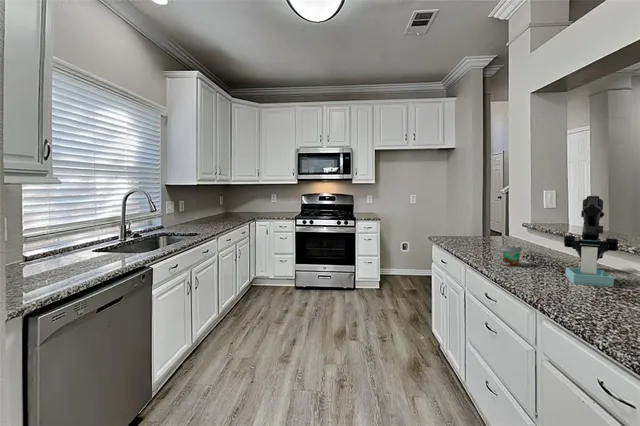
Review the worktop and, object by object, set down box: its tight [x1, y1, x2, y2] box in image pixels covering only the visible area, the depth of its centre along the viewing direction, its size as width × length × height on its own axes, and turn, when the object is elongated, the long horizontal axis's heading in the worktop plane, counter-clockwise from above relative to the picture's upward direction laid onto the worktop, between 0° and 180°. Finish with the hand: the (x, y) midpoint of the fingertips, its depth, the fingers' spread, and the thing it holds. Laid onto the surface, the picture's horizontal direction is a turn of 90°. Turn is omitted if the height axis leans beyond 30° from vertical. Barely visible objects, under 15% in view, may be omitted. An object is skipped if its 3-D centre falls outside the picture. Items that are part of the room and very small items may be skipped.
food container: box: [502, 244, 523, 267], centre depth 183 cm, size 12×6×10 cm, turn 123°
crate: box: [565, 267, 615, 288], centre depth 152 cm, size 14×14×4 cm
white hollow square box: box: [580, 246, 598, 275], centre depth 151 cm, size 5×5×11 cm
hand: (589, 258), depth 150 cm, fingers closed on white hollow square box, 5 cm apart
